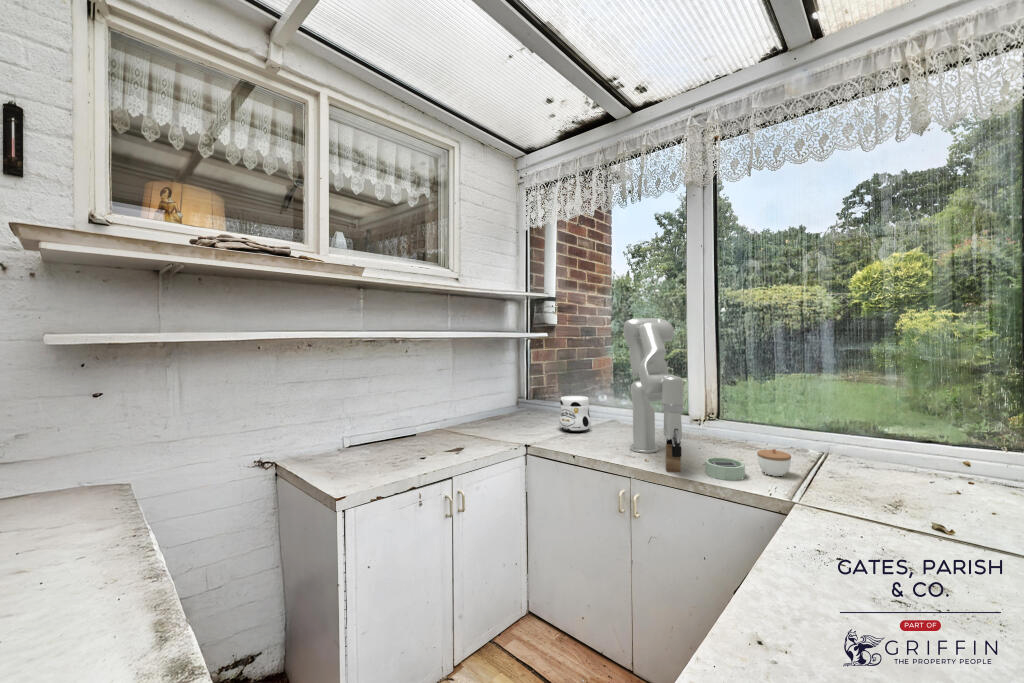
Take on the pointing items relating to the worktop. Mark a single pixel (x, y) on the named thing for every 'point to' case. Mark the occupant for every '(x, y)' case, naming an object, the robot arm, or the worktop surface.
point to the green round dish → (724, 468)
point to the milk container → (574, 414)
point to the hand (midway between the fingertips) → (673, 453)
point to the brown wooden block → (672, 460)
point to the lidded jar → (774, 462)
